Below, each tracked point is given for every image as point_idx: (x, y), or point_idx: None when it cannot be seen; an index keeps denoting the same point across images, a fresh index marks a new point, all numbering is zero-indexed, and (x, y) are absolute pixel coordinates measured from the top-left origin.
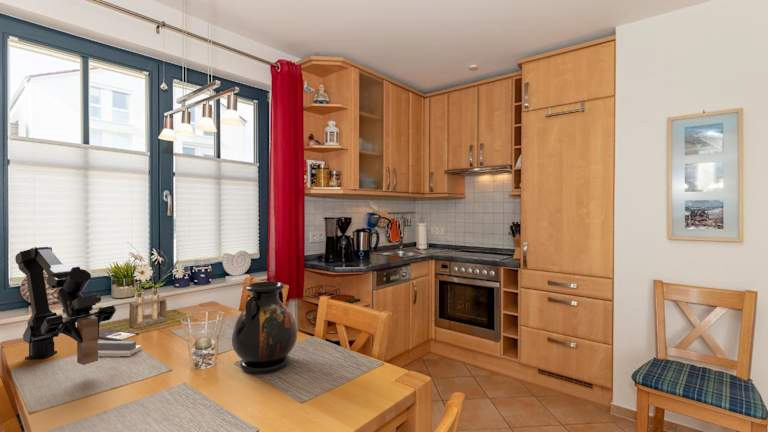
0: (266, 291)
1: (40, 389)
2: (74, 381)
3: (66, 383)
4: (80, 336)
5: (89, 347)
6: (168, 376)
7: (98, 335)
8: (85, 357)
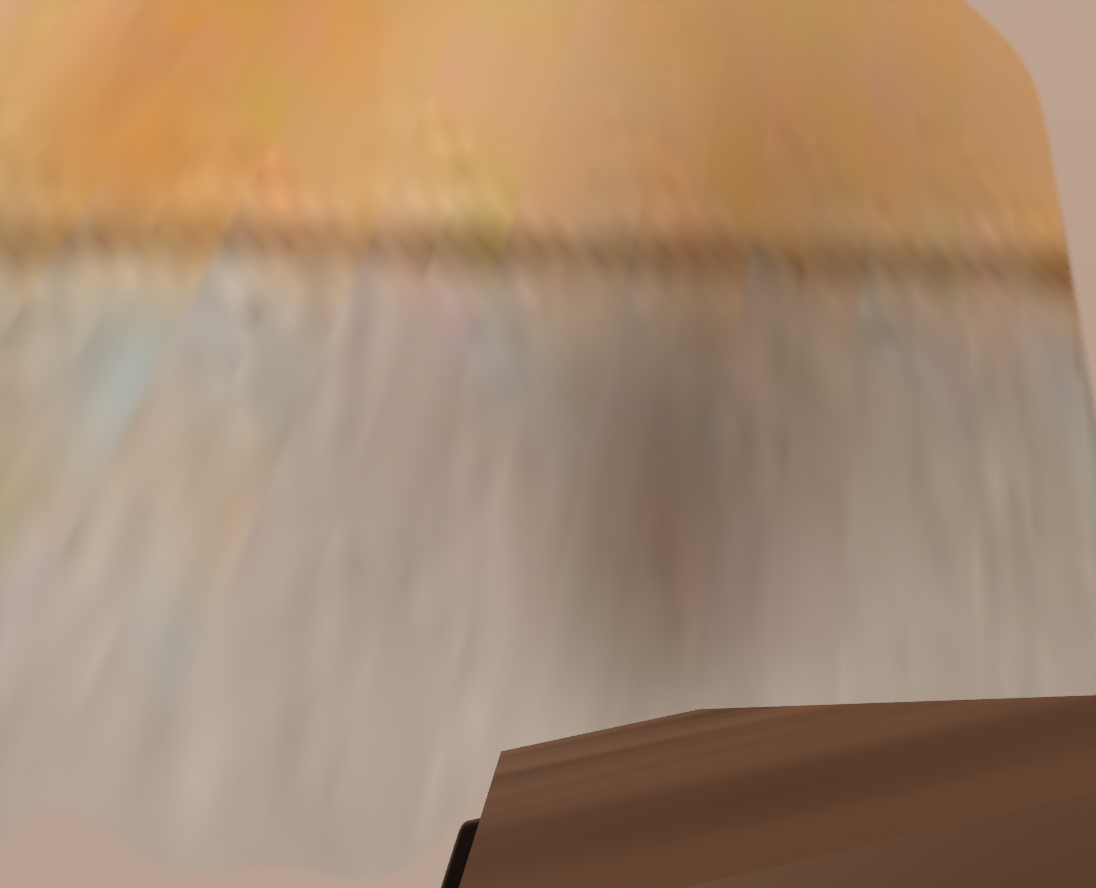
0: None
1: None
2: None
3: None
4: None
5: (663, 731)
6: (54, 127)
7: (460, 851)
8: (696, 715)
